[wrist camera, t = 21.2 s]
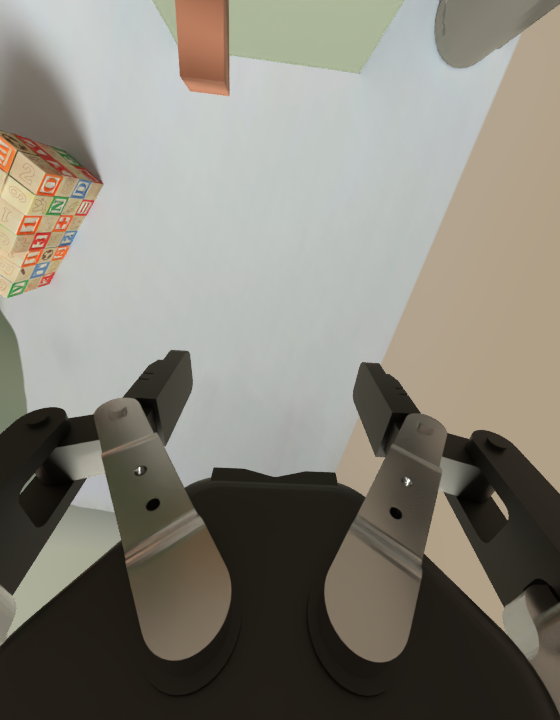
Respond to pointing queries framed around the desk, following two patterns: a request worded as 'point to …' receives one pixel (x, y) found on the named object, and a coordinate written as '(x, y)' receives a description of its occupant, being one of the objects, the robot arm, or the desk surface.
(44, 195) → the stack of blocks
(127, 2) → the desk surface
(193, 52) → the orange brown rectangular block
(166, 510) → the robot arm
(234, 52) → the upright pale green block
